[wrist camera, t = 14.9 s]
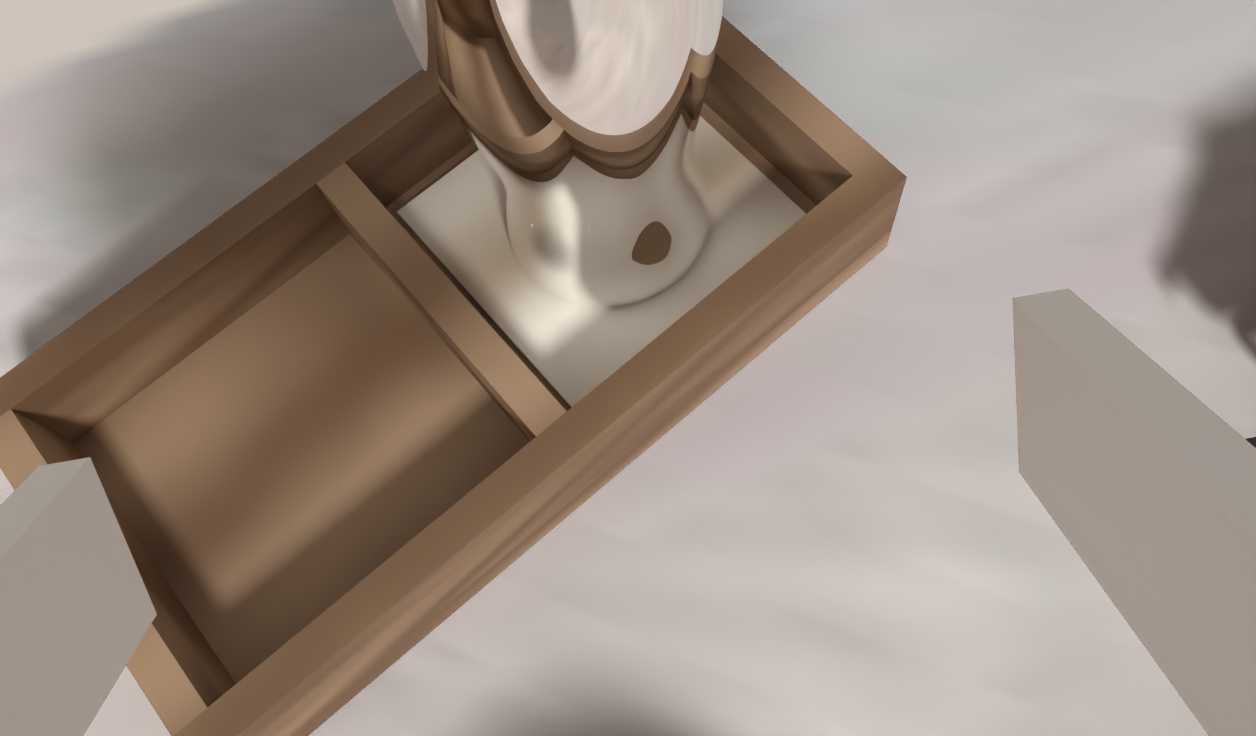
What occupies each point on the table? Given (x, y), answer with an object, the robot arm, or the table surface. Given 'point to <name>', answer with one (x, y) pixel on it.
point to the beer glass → (583, 129)
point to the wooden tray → (408, 386)
